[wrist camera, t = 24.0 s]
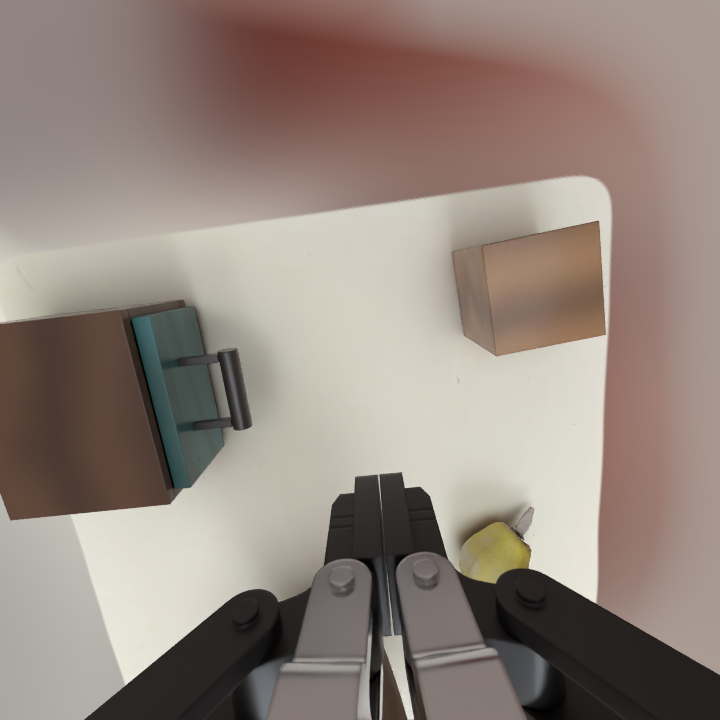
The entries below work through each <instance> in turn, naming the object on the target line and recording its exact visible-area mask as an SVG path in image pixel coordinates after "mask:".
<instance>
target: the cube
mask: <svg viewBox="0 0 720 720" xmlns="http://www.w3.org/2000/svg"><path fill="white" fill-rule="evenodd" d="M452 256H453V263H454V270H455V277H456V284H457V291H458V298H459V304H460V311H461V318H462V325H463V332H464V336H466V337H467V338H469V339H470V340H472V341H474V342H475V343H477V344H478V345H480V346H481V347H483V348H484V349H486V350H488V351H489V352H491V353H492V354H494V355H495V356H500V355H505V354H510V353H515V352H520V351H525V350H530V349H535V348H541V347H546V346H551V345H556V344H561V343H566V342H571V341H576V340H581V339H586V338H591V337H597V336H602V335H606V330H605V313H604V297H603V280H602V263H601V246H600V229H599V221H595V222H590V223H586V224H581V225H576V226H571V227H567V228H562V229H557V230H552V231H548V232H543V233H538V234H533V235H529V236H524V237H519V238H514V239H510V240H505V241H500V242H496V243H491V244H486V245H482V246H477V247H472V248H467V249H463V250H458V251H453V252H452Z"/></svg>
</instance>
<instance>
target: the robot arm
mask: <svg viewBox="0 0 720 720" xmlns="http://www.w3.org/2000/svg"><path fill="white" fill-rule="evenodd" d="M379 475H380V489H381V500H380V491H379V482H378V475H369V476H358V477H355V492H354V493H349V494H340V495H339V496H338V498H337V499H336V500H335V502H334V503H333V505H332V509H331V519H330V524H329V532H328V539H327V547H326V554H325V561H324V567H322V568H321V569H320V570H319V571H318V573H317V574H316V576H315V577H314V580H313V583H312V587H311V588H309V589H308V590H307V591H305V592H303V593H302V594H299V595H297V596H295V597H292V598H289V599H287V600H284V601H281V602H279V603H278V601H277V599H276V597H275V596H274V595H273V594H272V593H271V592H269V591H266V590H262V589H254V590H248V591H245V592H242V593H240V594H238V595H236V596H235V597H233V598H232V599H230V600H229V601H228V602H226V603H225V604H224V605H223V606H222V607H220V608H219V609H218V610H217V611H215V612H214V613H213V614H212V615H211V616H209V617H208V618H207V619H206V620H205V621H203V622H202V623H201V624H200V625H198V626H197V627H196V628H195V629H194V630H192V631H191V632H190V633H189V634H188V635H186V636H185V637H184V638H183V639H182V640H180V641H179V642H178V643H177V644H175V645H174V646H173V647H172V648H171V649H169V650H168V651H167V652H166V653H165V654H163V655H162V656H161V657H160V658H158V659H157V660H156V661H155V662H154V663H152V664H151V665H150V666H149V667H148V668H146V669H145V670H144V671H143V672H141V673H140V674H139V675H138V676H137V677H135V678H134V679H133V680H132V681H131V682H129V683H128V684H127V685H126V686H125V687H123V688H122V689H121V690H120V691H119V692H117V693H116V694H115V695H114V696H112V697H111V698H110V699H109V700H108V701H106V702H105V703H104V704H103V705H101V706H100V707H99V708H98V709H97V710H96V711H94V712H93V713H92V714H91V715H89V716H88V717H87V718H86V719H85V720H382V702H383V664H382V663H383V658H384V647H383V636H392V634H391V621H390V607H389V594H388V583H389V592H390V601H391V610H392V619H393V628H394V635H402V640H403V649H404V658H405V668H406V675H407V680H408V686H409V692H410V697H411V703H412V709H413V714H414V720H720V675H719V674H717V673H715V672H713V671H712V670H710V669H708V668H706V667H705V666H703V665H701V664H699V663H698V662H696V661H694V660H692V659H691V658H689V657H687V656H686V655H684V654H682V653H680V652H679V651H677V650H675V649H674V648H672V647H670V646H668V645H667V644H665V643H663V642H661V641H660V640H658V639H656V638H654V637H653V636H651V635H649V634H647V633H646V632H644V631H642V630H640V629H639V628H637V627H635V626H634V625H632V624H630V623H628V622H627V621H625V620H623V619H621V618H619V617H618V616H616V615H615V614H613V613H611V612H609V611H608V610H606V609H604V608H602V607H601V606H599V605H597V604H595V603H594V602H592V601H590V600H588V599H587V598H585V597H583V596H582V595H580V594H578V593H576V592H575V591H573V590H571V589H569V588H568V587H566V586H564V585H562V584H561V583H559V582H557V581H556V580H554V579H552V578H550V577H549V576H547V575H545V574H543V573H541V572H538V571H535V570H531V569H525V568H517V569H511V570H508V571H506V572H504V573H503V574H501V575H500V576H499V578H498V579H497V581H496V584H494V583H489V582H484V581H479V580H475V579H472V578H469V577H467V576H465V575H463V574H461V573H460V572H458V571H457V570H456V569H455V568H454V566H453V565H452V564H451V562H450V561H449V560H448V558H447V555H446V551H445V548H444V544H443V541H442V537H441V534H440V530H439V527H438V523H437V520H436V516H435V513H434V510H433V506H432V502H431V499H430V496H429V495H428V494H427V493H426V492H425V491H424V490H423V489H422V488H421V487H413V488H404V482H403V477H402V472H400V473H389V474H379ZM381 503H382V509H381ZM382 516H383V519H382ZM386 566H387V567H386ZM387 574H388V581H387Z"/></svg>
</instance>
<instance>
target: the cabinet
mask: <svg viewBox="0 0 720 720" xmlns="http://www.w3.org/2000/svg"><path fill="white" fill-rule="evenodd" d="M182 307H185V305H184V300H175V301H167V302H158V303H150V304H141V305H133V306H125V307H116V308H108V309H100V310H91V311H83V312H75V313H66V314H58V315H49V316H43V317H36V318H29V319H22V320H15V321H8V322H1V323H0V494H1V496H2V499H3V502H4V505H5V507H6V510H7V512H8V515H9V517H10V520H19V519H29V518H39V517H48V516H57V515H68V514H78V513H88V512H98V511H108V510H118V509H128V508H138V507H147V506H157V505H167V504H171V502H172V501H173V500H174V499H175V497H176V496H177V495H178V494H179V493H180V492H181V490H182V489H183V488H181V489H175V487H174V483H173V479H172V476H171V472H170V468H168V467H167V463H166V460H165V456H164V452H163V448H162V444H161V440H160V436H159V432H158V428H157V424H156V421H155V417H154V413H153V409H152V405H151V401H150V397H149V393H148V389H147V386H146V382H145V378H144V374H143V370H142V366H141V362H140V358H139V354H138V351H137V347H136V343H135V339H134V335H133V331H132V327H131V322H132V318H133V317H137V316H142V315H147V314H152V313H157V312H162V311H167V310H172V309H176V308H182Z"/></svg>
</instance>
